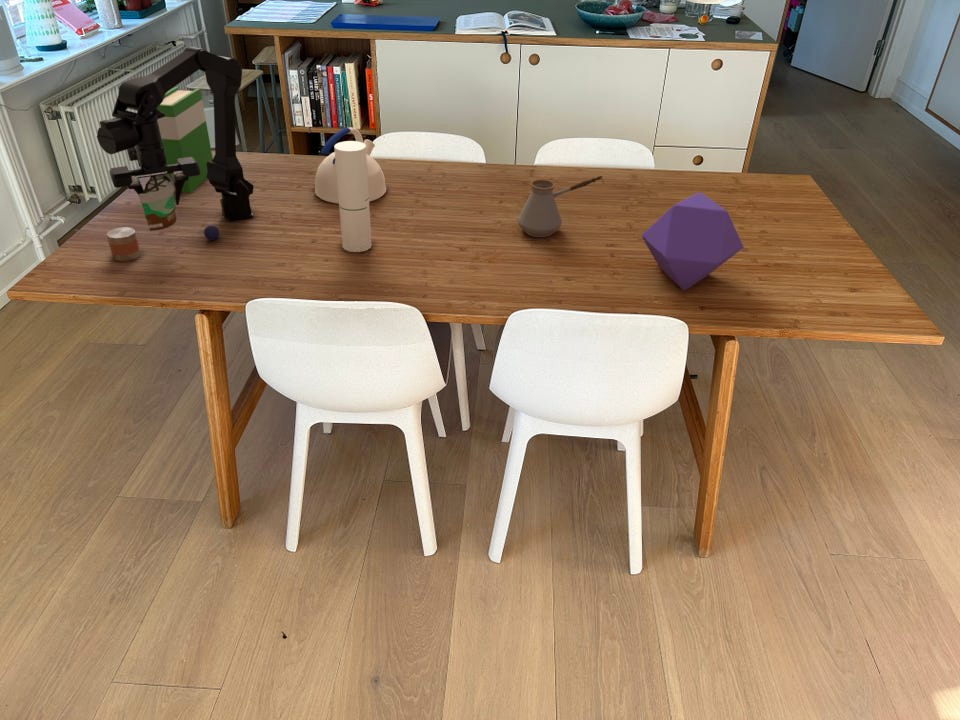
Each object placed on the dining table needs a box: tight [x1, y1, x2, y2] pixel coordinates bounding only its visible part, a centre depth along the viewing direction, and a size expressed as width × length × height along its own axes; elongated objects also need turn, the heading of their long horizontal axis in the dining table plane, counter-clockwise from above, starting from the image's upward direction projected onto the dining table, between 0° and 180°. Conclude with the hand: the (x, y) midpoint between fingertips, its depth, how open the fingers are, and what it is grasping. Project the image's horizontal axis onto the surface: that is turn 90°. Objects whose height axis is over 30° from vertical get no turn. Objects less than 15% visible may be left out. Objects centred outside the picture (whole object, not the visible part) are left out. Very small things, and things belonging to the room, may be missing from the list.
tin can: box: [106, 226, 141, 262], centre depth 174 cm, size 6×6×6 cm
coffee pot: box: [517, 175, 605, 238], centre depth 190 cm, size 21×12×15 cm, turn 94°
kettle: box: [314, 127, 387, 205], centre depth 208 cm, size 20×21×18 cm
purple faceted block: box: [641, 191, 744, 291], centre depth 170 cm, size 22×20×20 cm
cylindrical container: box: [333, 140, 372, 253], centre depth 177 cm, size 7×7×25 cm
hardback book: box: [157, 86, 214, 194], centre depth 209 cm, size 18×7×24 cm, turn 174°
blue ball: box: [203, 225, 220, 241], centre depth 183 cm, size 4×4×4 cm
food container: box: [138, 174, 178, 232], centre depth 173 cm, size 12×6×10 cm, turn 6°
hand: (163, 206), depth 175 cm, fingers closed on food container, 6 cm apart
